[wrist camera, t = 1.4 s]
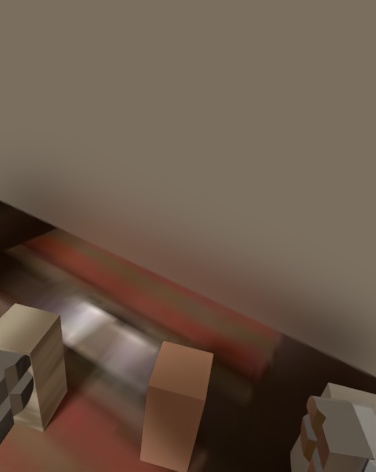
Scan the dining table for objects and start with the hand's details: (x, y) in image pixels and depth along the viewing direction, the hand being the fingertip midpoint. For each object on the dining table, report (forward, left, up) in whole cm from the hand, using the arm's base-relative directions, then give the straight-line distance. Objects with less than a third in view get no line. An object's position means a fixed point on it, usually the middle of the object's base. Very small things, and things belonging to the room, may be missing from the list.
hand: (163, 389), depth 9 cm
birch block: (-17, -5, -24) cm, 31 cm away
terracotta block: (-10, +6, -24) cm, 27 cm away
